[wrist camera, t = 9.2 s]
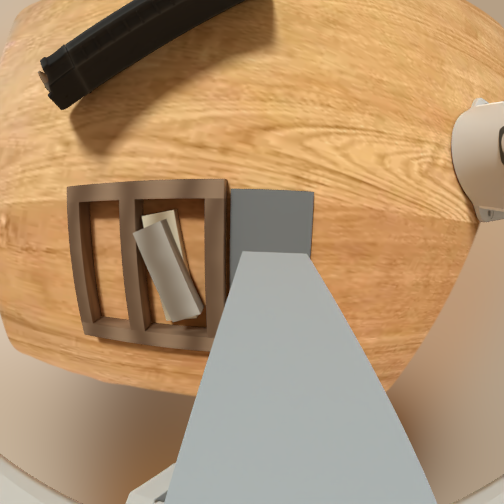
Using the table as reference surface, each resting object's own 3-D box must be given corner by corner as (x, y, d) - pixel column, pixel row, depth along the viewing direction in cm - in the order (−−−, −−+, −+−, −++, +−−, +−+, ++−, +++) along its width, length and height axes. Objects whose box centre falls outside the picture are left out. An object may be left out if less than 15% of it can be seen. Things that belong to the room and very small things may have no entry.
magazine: (275, -62, 15) (3, 36, 10) (292, -50, 15) (5, 53, 11) (244, 15, 31) (59, 100, 27) (255, 27, 32) (65, 116, 27)
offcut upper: (166, 218, 30) (160, 220, 28) (203, 306, 32) (200, 313, 30) (139, 230, 30) (132, 233, 29) (177, 315, 33) (172, 322, 31)
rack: (227, 179, 30) (224, 178, 28) (226, 342, 35) (224, 352, 32) (77, 186, 31) (66, 186, 28) (92, 326, 35) (84, 334, 33)
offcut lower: (178, 208, 32) (173, 209, 30) (200, 311, 35) (196, 318, 33) (148, 214, 32) (141, 216, 30) (171, 314, 35) (166, 320, 33)
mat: (312, 191, 30) (313, 191, 30) (301, 337, 34) (301, 339, 34) (231, 188, 30) (230, 188, 30) (230, 335, 35) (229, 338, 34)
